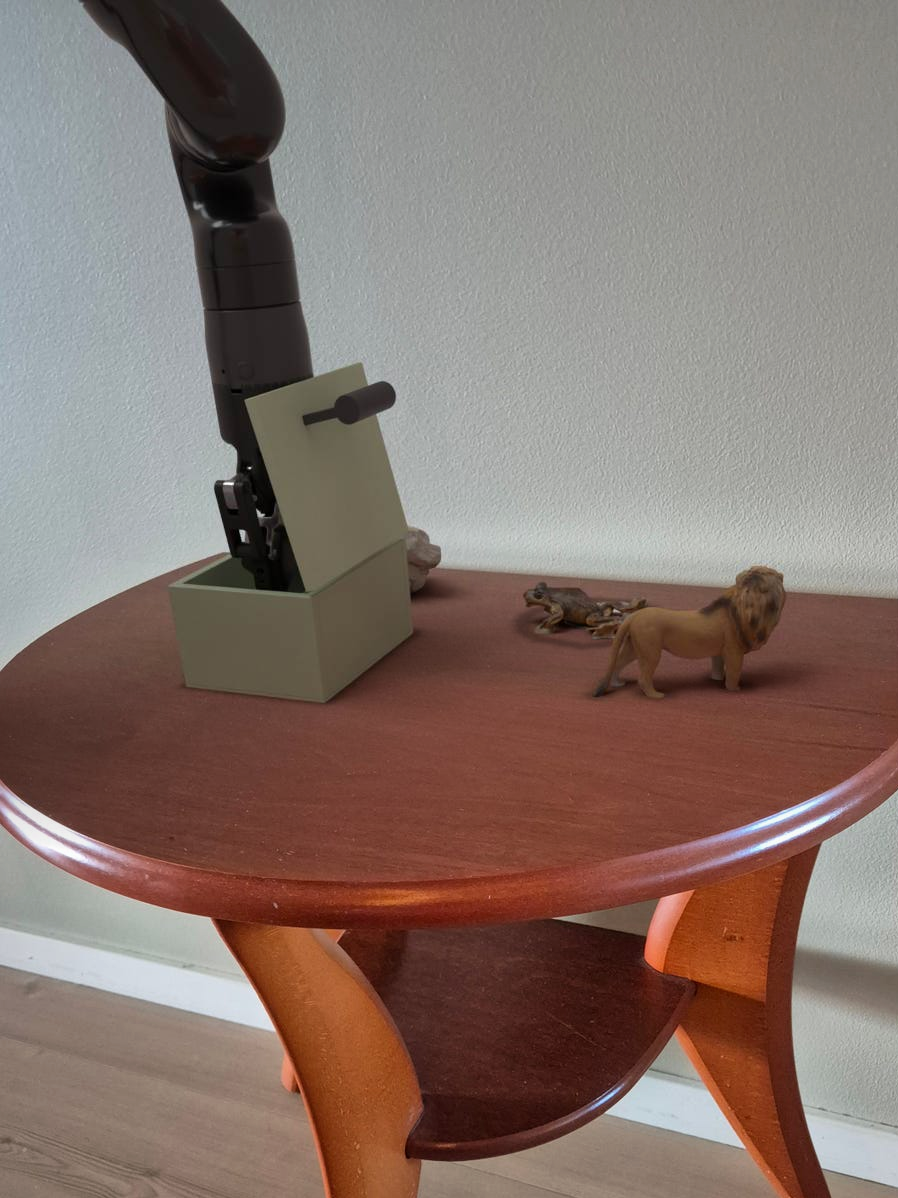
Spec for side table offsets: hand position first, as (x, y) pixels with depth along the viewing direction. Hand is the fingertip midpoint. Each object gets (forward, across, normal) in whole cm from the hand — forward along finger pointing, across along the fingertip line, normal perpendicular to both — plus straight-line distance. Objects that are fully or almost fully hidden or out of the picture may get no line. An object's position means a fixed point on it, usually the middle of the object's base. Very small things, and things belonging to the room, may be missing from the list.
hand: (293, 591), depth 96 cm
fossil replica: (+6, -19, -2) cm, 20 cm away
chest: (+6, 0, 0) cm, 6 cm away
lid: (-10, 0, +5) cm, 11 cm away
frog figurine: (+7, -14, +20) cm, 25 cm away
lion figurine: (+7, -3, +32) cm, 33 cm away
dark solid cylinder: (-2, 0, +2) cm, 3 cm away
